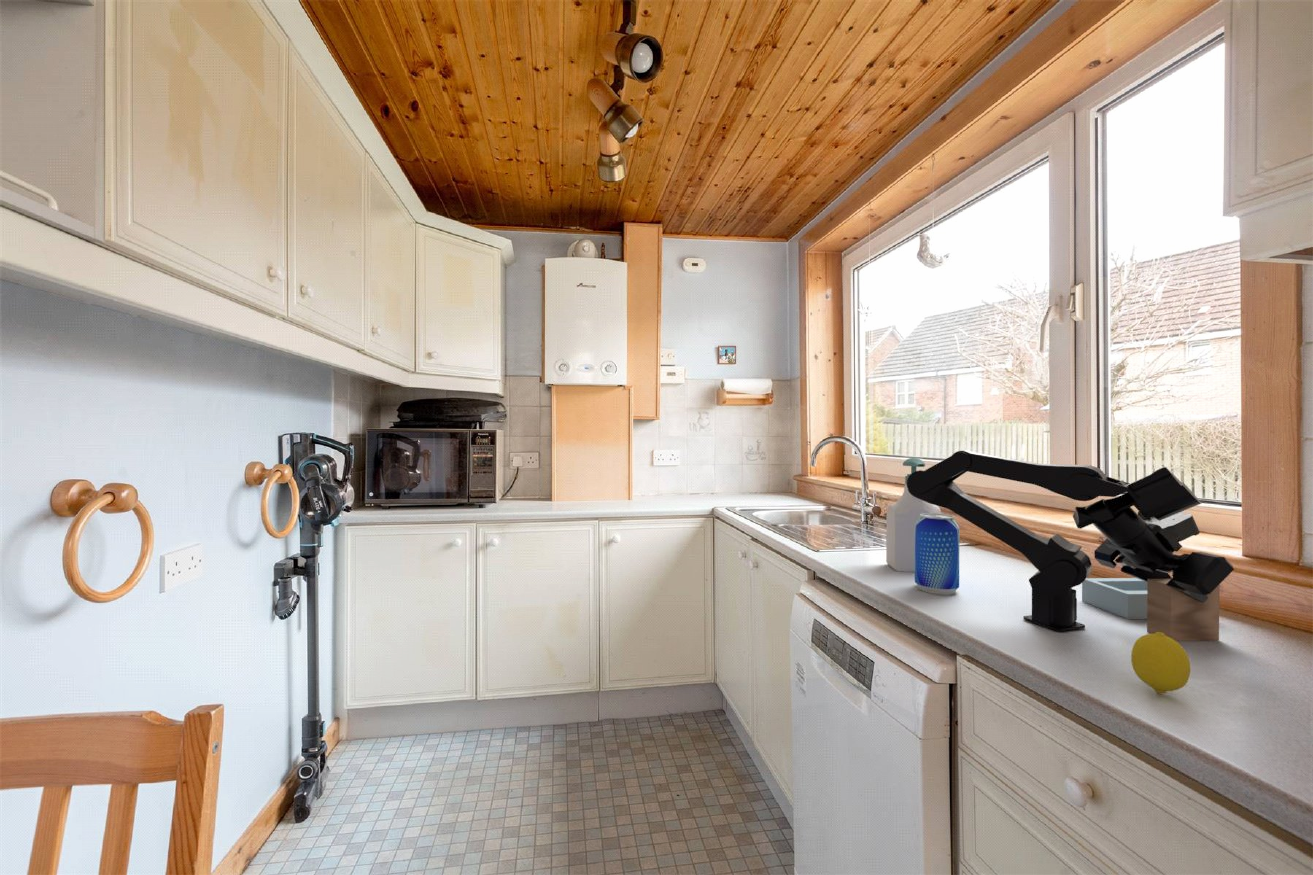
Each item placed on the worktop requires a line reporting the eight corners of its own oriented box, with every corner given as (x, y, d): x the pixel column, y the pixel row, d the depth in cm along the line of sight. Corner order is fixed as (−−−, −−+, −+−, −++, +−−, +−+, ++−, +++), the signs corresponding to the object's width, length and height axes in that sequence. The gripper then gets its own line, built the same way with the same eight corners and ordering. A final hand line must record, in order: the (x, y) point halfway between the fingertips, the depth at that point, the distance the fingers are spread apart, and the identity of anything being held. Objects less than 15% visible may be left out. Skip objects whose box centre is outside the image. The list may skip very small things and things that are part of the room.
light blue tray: (1127, 618, 95) (1128, 594, 95) (1081, 600, 105) (1082, 578, 105) (1205, 618, 95) (1206, 593, 95) (1152, 600, 105) (1152, 577, 105)
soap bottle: (897, 573, 126) (897, 458, 125) (886, 564, 134) (886, 456, 133) (945, 574, 124) (946, 458, 124) (931, 565, 133) (931, 457, 132)
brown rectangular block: (1170, 641, 85) (1171, 585, 85) (1147, 631, 89) (1147, 578, 89) (1218, 640, 85) (1219, 585, 85) (1193, 630, 89) (1193, 578, 89)
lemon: (1119, 683, 71) (1120, 625, 71) (1157, 682, 71) (1157, 623, 71) (1162, 705, 65) (1163, 641, 65) (1202, 703, 66) (1203, 639, 66)
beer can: (960, 587, 114) (960, 514, 114) (958, 598, 107) (958, 520, 106) (917, 581, 118) (917, 511, 118) (912, 591, 111) (912, 516, 111)
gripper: (1222, 503, 77) (1294, 577, 78) (1110, 489, 96) (1168, 548, 96) (1169, 557, 77) (1241, 630, 78) (1067, 532, 96) (1126, 591, 96)
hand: (1190, 595), depth 87 cm, fingers closed on brown rectangular block, 4 cm apart
